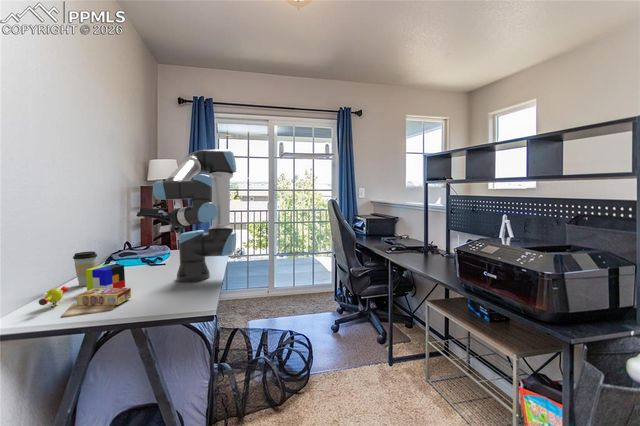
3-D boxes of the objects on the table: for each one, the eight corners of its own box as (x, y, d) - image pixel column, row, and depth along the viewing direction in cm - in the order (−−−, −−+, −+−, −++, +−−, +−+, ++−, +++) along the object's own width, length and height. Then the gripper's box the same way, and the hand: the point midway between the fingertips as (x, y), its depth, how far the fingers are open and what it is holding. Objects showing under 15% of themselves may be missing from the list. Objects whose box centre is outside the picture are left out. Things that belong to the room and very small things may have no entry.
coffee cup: (73, 284, 153) (71, 253, 152) (97, 280, 159) (95, 250, 158) (75, 288, 146) (73, 255, 145) (100, 284, 152) (98, 252, 151)
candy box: (117, 293, 120) (75, 295, 120) (118, 305, 121) (76, 307, 120) (130, 286, 129) (91, 288, 129) (131, 297, 130) (92, 299, 129)
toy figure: (57, 299, 130) (56, 283, 130) (73, 298, 132) (72, 281, 132) (31, 315, 113) (30, 296, 113) (50, 313, 115) (49, 294, 114)
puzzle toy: (106, 293, 138) (105, 270, 137) (87, 292, 140) (85, 269, 139) (125, 286, 148) (124, 265, 147) (106, 285, 150) (105, 264, 149)
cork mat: (118, 299, 129) (118, 298, 129) (112, 310, 117) (112, 308, 117) (72, 305, 123) (72, 304, 123) (61, 317, 111) (61, 315, 111)
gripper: (155, 211, 122) (118, 219, 130) (202, 236, 141) (168, 241, 150) (161, 194, 125) (125, 202, 134) (206, 221, 145) (172, 227, 153)
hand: (147, 223), depth 142 cm, fingers open, 13 cm apart
